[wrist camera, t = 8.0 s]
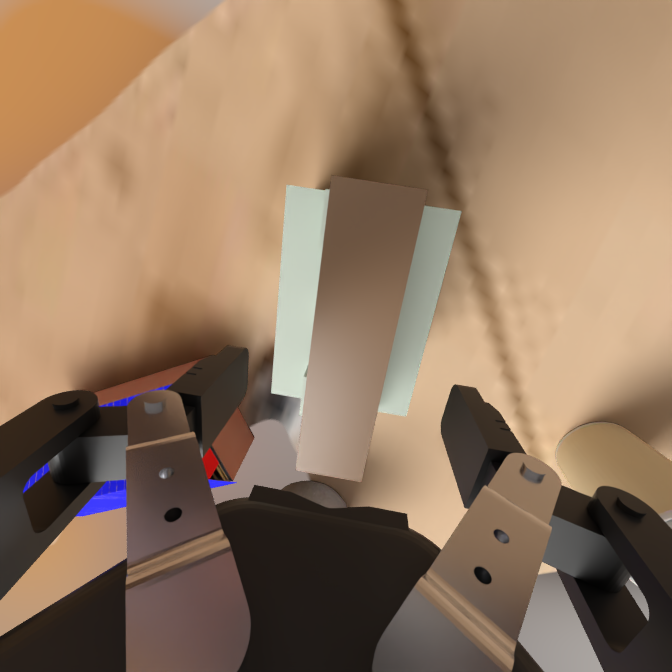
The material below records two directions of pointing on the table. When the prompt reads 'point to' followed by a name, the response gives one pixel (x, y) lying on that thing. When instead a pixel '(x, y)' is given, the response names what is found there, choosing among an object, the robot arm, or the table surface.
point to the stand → (302, 285)
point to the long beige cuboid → (355, 320)
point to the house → (217, 460)
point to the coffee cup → (616, 465)
